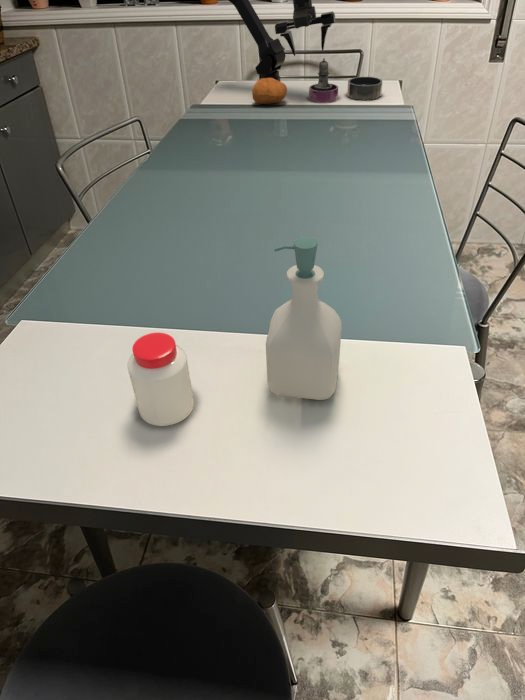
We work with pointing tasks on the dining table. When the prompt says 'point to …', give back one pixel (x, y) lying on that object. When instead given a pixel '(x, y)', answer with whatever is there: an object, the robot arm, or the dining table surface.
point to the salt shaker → (323, 77)
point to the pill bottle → (160, 380)
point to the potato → (269, 91)
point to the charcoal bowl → (364, 88)
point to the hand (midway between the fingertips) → (308, 53)
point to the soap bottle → (303, 333)
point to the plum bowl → (323, 94)
